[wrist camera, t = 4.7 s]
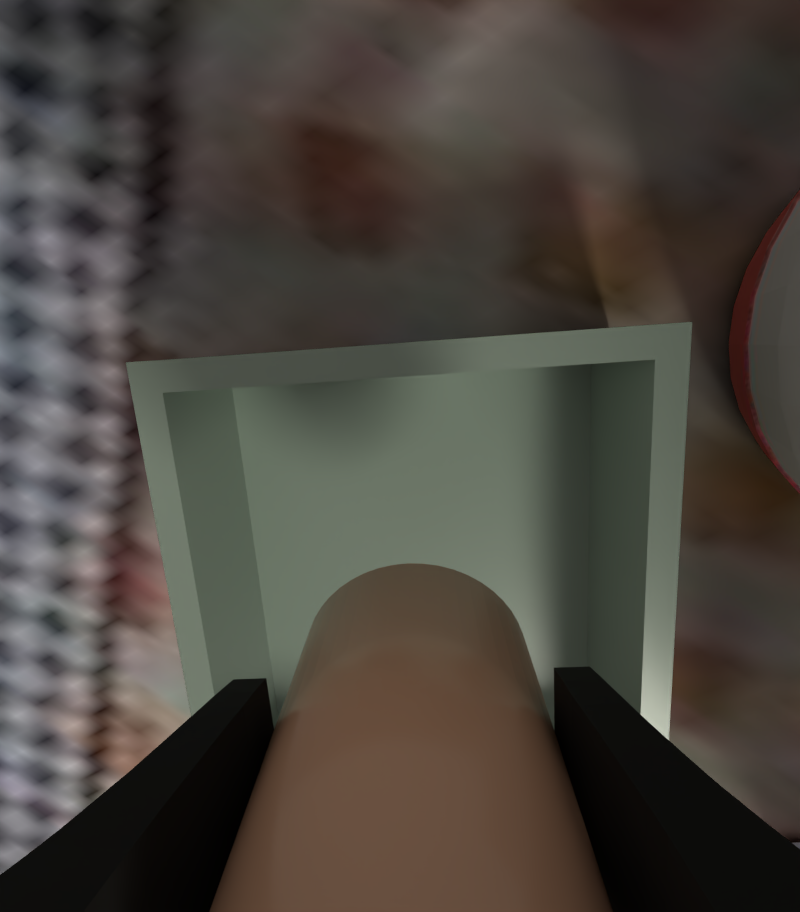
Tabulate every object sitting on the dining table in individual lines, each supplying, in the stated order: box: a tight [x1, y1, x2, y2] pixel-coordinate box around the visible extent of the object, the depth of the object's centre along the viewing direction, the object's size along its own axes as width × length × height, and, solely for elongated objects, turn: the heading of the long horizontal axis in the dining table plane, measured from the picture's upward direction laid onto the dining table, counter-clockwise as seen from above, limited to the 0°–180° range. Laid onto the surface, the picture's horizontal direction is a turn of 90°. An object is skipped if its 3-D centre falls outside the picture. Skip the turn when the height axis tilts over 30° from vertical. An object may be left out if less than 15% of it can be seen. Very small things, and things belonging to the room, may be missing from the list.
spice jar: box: [209, 563, 613, 912], centre depth 8 cm, size 5×5×7 cm
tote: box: [126, 322, 692, 740], centre depth 16 cm, size 14×18×5 cm
